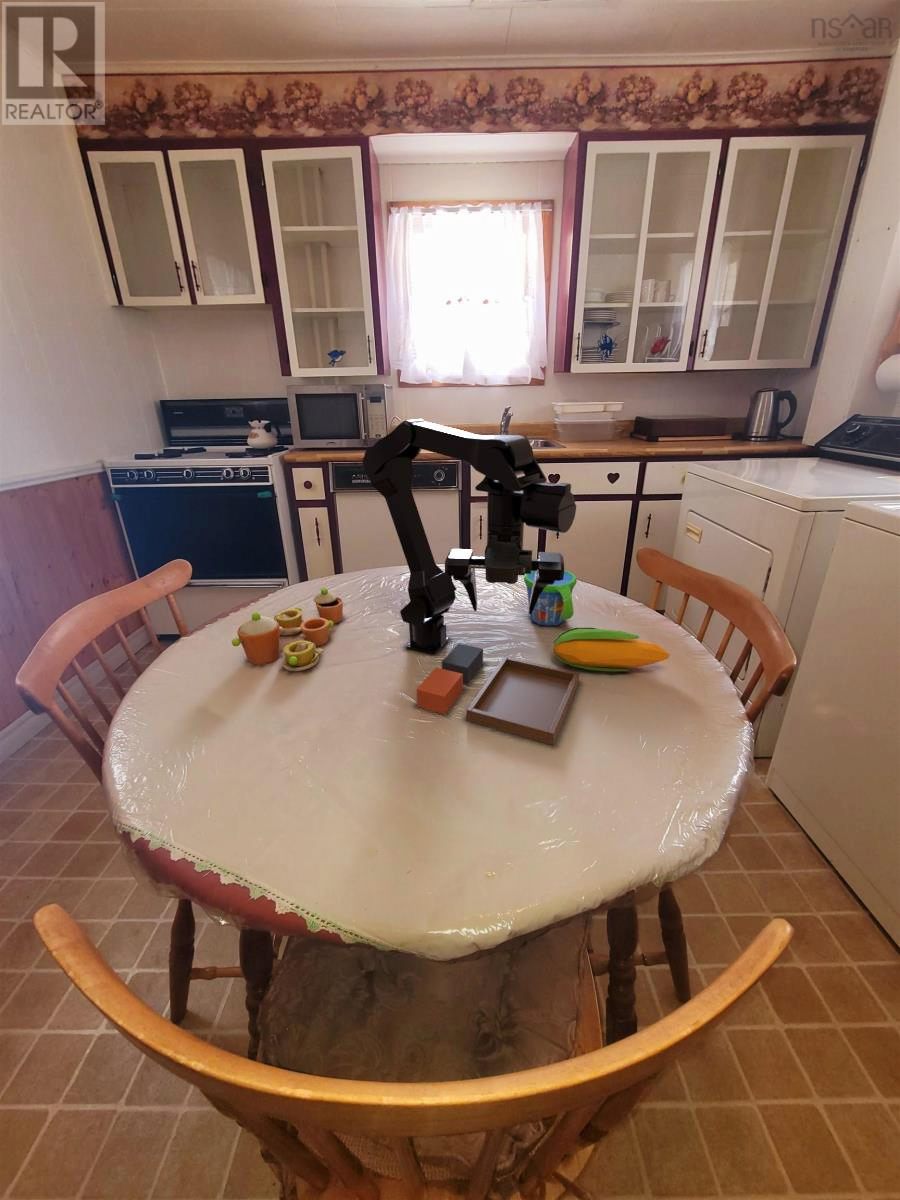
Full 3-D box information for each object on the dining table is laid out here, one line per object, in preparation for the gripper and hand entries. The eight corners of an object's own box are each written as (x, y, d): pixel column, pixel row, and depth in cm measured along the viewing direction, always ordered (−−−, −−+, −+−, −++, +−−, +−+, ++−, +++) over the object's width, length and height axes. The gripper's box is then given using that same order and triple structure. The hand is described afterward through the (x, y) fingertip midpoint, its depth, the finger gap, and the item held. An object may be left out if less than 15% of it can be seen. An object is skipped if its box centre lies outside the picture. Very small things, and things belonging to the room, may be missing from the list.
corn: (554, 617, 89) (668, 622, 86) (551, 651, 93) (660, 657, 90) (555, 639, 83) (678, 646, 80) (552, 674, 86) (670, 682, 83)
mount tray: (466, 720, 75) (466, 709, 74) (503, 666, 89) (504, 656, 88) (553, 745, 69) (554, 734, 69) (578, 683, 83) (579, 672, 82)
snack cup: (512, 607, 111) (513, 565, 107) (555, 602, 113) (558, 561, 109) (538, 639, 97) (541, 593, 93) (586, 633, 99) (591, 587, 95)
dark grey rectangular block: (442, 677, 86) (441, 661, 84) (458, 658, 91) (458, 643, 90) (467, 684, 84) (467, 667, 82) (483, 664, 89) (483, 648, 88)
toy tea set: (311, 677, 87) (304, 630, 83) (230, 673, 88) (219, 626, 84) (354, 613, 110) (350, 574, 106) (290, 611, 112) (283, 572, 108)
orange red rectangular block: (417, 706, 78) (416, 689, 77) (437, 683, 84) (436, 667, 83) (445, 714, 76) (444, 696, 75) (463, 690, 82) (462, 673, 81)
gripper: (437, 535, 69) (440, 631, 76) (570, 539, 67) (561, 638, 73) (449, 515, 79) (451, 601, 86) (565, 517, 77) (558, 606, 83)
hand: (502, 611), depth 82 cm, fingers open, 9 cm apart
